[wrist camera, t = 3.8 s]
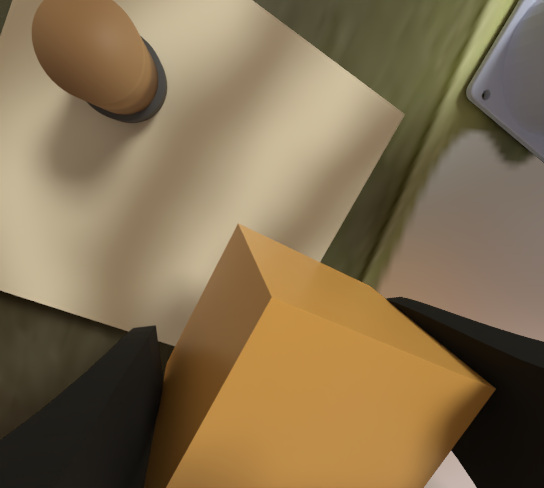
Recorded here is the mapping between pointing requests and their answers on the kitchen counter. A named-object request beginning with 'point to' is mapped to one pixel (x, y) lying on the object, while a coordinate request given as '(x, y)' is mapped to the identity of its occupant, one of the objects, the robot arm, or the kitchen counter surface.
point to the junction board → (167, 150)
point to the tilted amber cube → (304, 383)
